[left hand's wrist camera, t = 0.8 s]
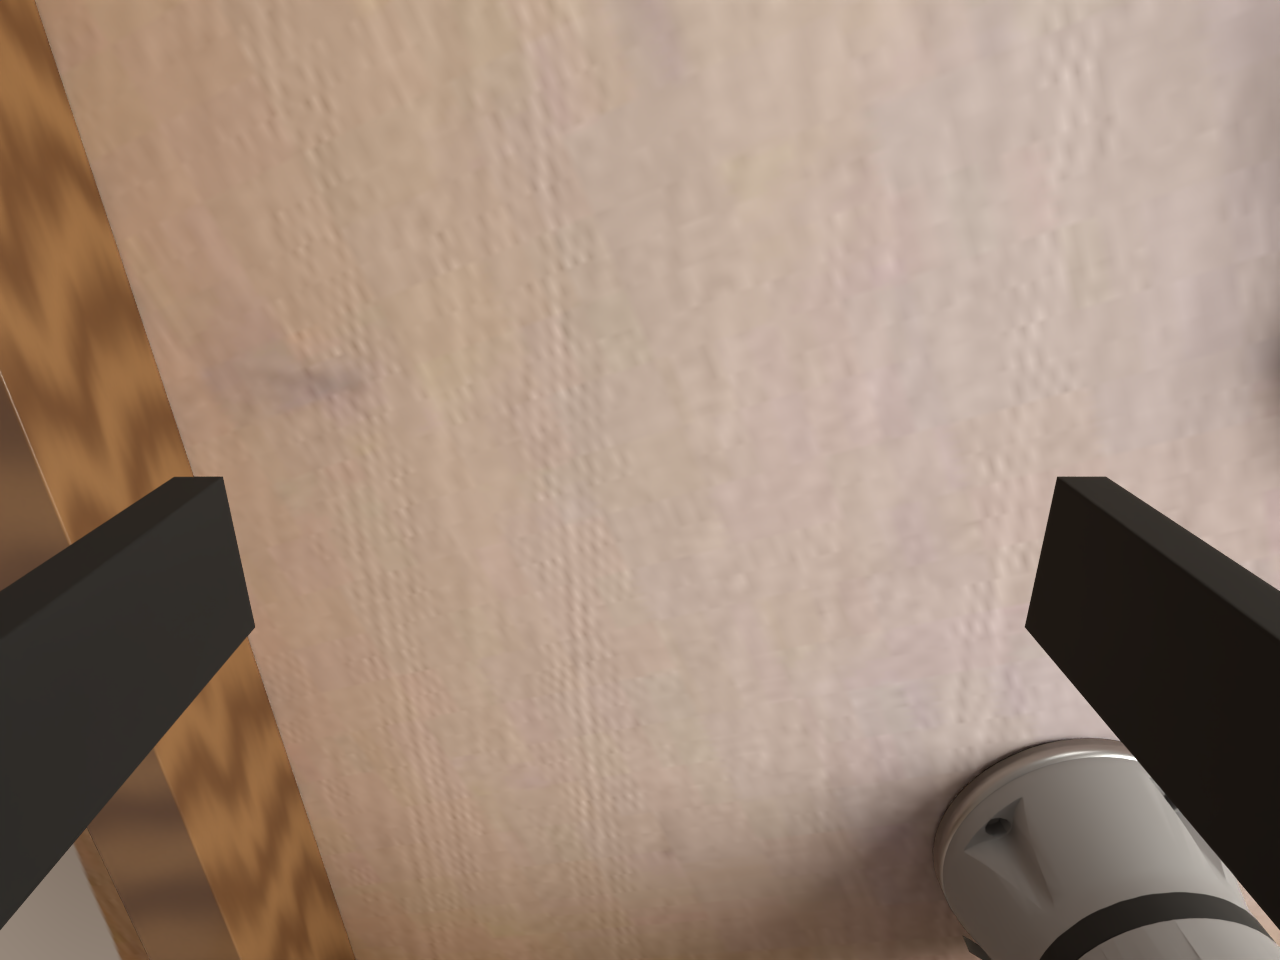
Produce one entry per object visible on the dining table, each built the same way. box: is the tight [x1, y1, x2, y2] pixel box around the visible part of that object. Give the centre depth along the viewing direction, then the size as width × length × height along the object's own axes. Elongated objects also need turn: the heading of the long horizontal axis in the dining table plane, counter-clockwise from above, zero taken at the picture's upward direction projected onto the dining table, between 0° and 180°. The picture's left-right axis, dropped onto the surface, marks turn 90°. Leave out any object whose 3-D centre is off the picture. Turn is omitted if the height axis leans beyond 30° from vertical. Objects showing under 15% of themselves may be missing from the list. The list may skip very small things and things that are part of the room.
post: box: [0, 0, 355, 960], centre depth 36 cm, size 61×4×9 cm, turn 6°
